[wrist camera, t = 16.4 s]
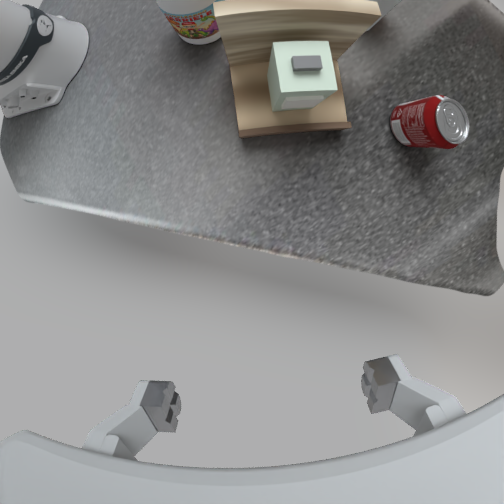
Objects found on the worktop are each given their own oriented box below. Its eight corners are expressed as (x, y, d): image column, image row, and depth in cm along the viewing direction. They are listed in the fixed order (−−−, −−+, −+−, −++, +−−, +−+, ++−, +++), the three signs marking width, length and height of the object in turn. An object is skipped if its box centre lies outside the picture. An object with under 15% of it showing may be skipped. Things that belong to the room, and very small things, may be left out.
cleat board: (341, 130, 36) (403, 117, 19) (240, 138, 37) (229, 126, 20) (329, 56, 32) (377, 1, 15) (230, 62, 33) (213, 2, 16)
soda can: (394, 150, 36) (440, 153, 25) (382, 106, 34) (425, 95, 23) (428, 143, 36) (477, 145, 24) (417, 101, 34) (464, 92, 22)
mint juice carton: (272, 114, 33) (282, 94, 20) (267, 75, 31) (273, 38, 19) (311, 111, 32) (341, 92, 20) (305, 73, 31) (331, 37, 18)
